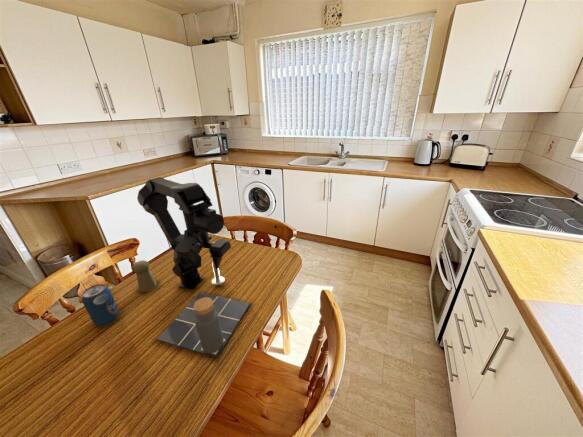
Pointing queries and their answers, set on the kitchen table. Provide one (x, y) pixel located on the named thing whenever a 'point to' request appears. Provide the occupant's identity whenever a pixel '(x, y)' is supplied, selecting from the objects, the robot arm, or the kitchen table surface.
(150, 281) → the pepper shaker
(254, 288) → the kitchen table surface
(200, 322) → the bottle
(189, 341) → the grid board
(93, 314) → the soda can
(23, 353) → the kitchen table surface
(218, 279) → the screw
